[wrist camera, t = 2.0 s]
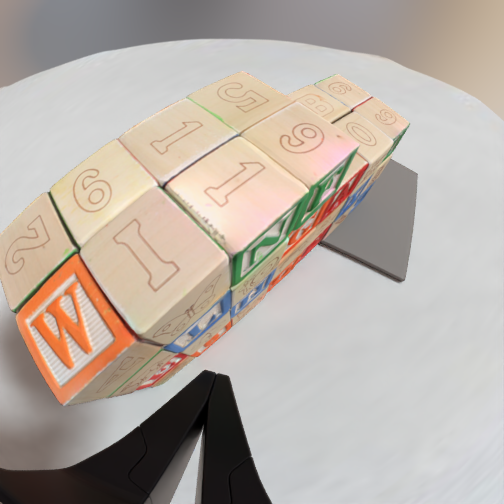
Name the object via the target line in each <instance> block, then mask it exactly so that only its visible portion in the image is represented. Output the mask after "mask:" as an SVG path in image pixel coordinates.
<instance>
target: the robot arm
mask: <svg viewBox="0 0 504 504" xmlns="http://www.w3.org/2000/svg"><path fill="white" fill-rule="evenodd" d="M203 426H204V427H203ZM202 430H203V433H202V440H201V449H200V458H199V467H198V477H197V487H196V497H195V504H272V502H271V500H270V499H269V497H268V495H267V493H266V491H265V489H264V487H263V484H262V482H261V480H260V478H259V475H258V472H257V470H256V467H255V464H254V461H253V458H252V457H251V456H252V455H251V451H250V448H249V445H248V441H247V438H246V435H245V431H244V428H243V424H242V421H241V417H240V414H239V410H238V407H237V403H236V400H235V396H234V392H233V389H232V385H231V381H230V378H229V376H227V375H223V374H219V373H218V374H217V375H216V373H215V372H212V371H208V370H204V371H202V372H201V373H200V374H199V375H198V376H197V377H196V378H195V379H193V380H192V381H191V382H190V383H189V384H188V385H187V386H185V387H184V388H183V389H182V390H181V391H180V392H178V393H177V394H176V395H175V396H174V397H173V398H171V399H170V400H169V401H168V402H167V403H166V404H164V405H163V406H162V407H161V408H160V409H158V410H157V411H156V412H155V413H154V414H152V415H151V416H150V417H149V418H148V419H146V420H145V421H144V422H143V423H141V424H140V427H139V426H138V427H136V428H135V429H134V430H133V431H131V432H130V433H129V434H127V435H126V436H125V437H123V438H122V439H120V440H119V441H117V442H116V443H114V444H113V445H111V446H109V447H108V448H106V449H104V450H102V451H100V452H99V453H97V454H95V455H93V456H91V457H89V458H87V459H85V460H83V461H81V462H79V463H77V464H75V465H73V466H70V467H67V468H63V469H56V470H6V469H2V468H0V504H170V502H171V500H172V498H173V495H174V493H175V491H176V489H177V487H178V484H179V482H180V480H181V478H182V476H183V473H184V471H185V469H186V467H187V464H188V462H189V460H190V458H191V455H192V453H193V451H194V449H195V446H196V444H197V442H198V440H199V437H200V435H201V432H202Z"/></svg>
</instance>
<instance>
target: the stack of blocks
mask: <svg viewBox="0 0 504 504" xmlns="http://www.w3.org/2000/svg"><path fill="white" fill-rule="evenodd" d="M409 125H410V123H409V122H408V121H407V120H405V119H404V118H403V117H402V116H400V115H399V114H398V113H396V112H395V111H394V110H392V109H391V108H390V107H388V106H387V105H386V104H384V103H383V102H381V101H380V100H379V99H377V98H376V97H372V96H371V95H370V94H369V93H367V92H366V91H364V90H363V89H361V88H360V87H358V86H356V85H355V84H353V83H352V82H350V81H348V80H347V79H345V78H343V77H342V76H340V75H338V74H335V75H333V76H331V77H328V78H326V79H324V80H321V81H319V82H317V83H315V84H314V85H308V86H306V87H304V88H301V89H299V90H297V91H295V92H293V93H291V94H288V95H284V94H282V93H280V92H278V91H276V90H275V89H273V88H272V87H270V86H268V85H267V84H265V83H263V82H262V81H260V80H258V79H256V78H255V77H253V76H251V75H249V74H248V73H245V72H243V71H241V72H238V73H236V74H233V75H231V76H228V77H226V78H224V79H221V80H219V81H217V82H215V83H213V84H210V85H208V86H206V87H204V88H202V89H200V90H198V91H196V92H194V93H192V94H190V95H188V96H187V97H186V98H185V99H182V100H180V101H178V102H176V103H173V104H171V105H169V106H168V107H166V108H164V109H162V110H161V111H159V112H157V113H156V114H154V115H152V116H151V117H149V118H147V119H146V120H144V121H142V122H140V123H139V124H137V125H135V126H134V127H132V128H131V129H129V130H128V131H127V132H125V133H124V134H123V135H122V136H121V137H119V138H118V139H114V140H112V141H111V142H109V143H108V144H106V145H105V146H103V147H102V148H101V149H99V150H98V151H97V152H95V153H94V154H93V155H91V156H90V157H89V158H87V159H86V160H84V161H83V162H82V163H80V164H79V165H78V166H76V167H75V168H74V169H73V170H71V171H70V172H69V173H68V174H66V175H65V176H64V177H63V178H62V179H60V180H59V181H58V182H57V183H56V184H54V185H53V186H52V187H51V189H50V192H46V193H43V194H41V195H40V196H39V197H38V198H37V199H35V200H34V201H33V202H32V203H31V204H30V205H29V206H28V207H27V208H26V209H25V210H24V211H23V212H22V213H21V214H20V215H19V216H18V217H17V218H16V219H15V220H14V221H13V222H12V223H11V224H10V225H9V226H8V227H7V228H6V229H5V230H4V231H3V232H2V233H1V234H0V279H1V283H2V286H3V289H4V292H5V296H6V299H7V302H8V305H9V308H10V310H11V311H12V312H14V313H17V314H16V322H17V325H18V328H19V331H20V333H21V335H22V337H23V339H24V341H25V344H26V346H27V348H28V350H29V352H30V354H31V356H32V358H33V360H34V362H35V363H36V365H37V367H38V369H39V371H40V372H41V374H42V376H43V378H44V379H45V381H46V383H47V384H48V386H49V388H50V389H51V391H52V392H53V394H54V396H55V397H56V398H57V400H58V401H59V402H60V403H61V405H63V406H70V405H75V404H80V403H85V402H89V401H93V400H97V399H101V398H111V397H114V396H116V397H117V396H120V395H125V394H129V393H132V392H134V391H135V390H140V389H143V388H147V387H156V386H159V385H161V384H164V383H165V382H166V381H168V380H169V379H170V378H171V377H172V376H174V375H175V374H176V373H177V372H178V371H180V370H181V369H182V368H183V367H184V366H186V365H187V364H188V363H189V362H190V361H192V360H193V359H194V358H195V357H198V356H199V355H201V354H202V353H203V352H204V351H205V350H206V349H208V348H209V347H210V346H211V345H212V344H213V343H214V342H216V341H217V340H218V339H219V338H220V337H221V336H222V335H224V334H225V333H226V332H227V331H228V330H229V329H230V328H231V327H232V326H234V325H235V324H236V323H237V322H238V321H240V320H241V319H242V318H243V317H244V316H245V315H246V314H247V313H248V312H250V311H251V310H252V309H253V308H254V307H255V306H256V305H257V304H258V303H259V302H260V301H262V300H263V299H264V297H265V295H266V293H267V292H269V291H270V290H271V289H272V288H273V287H274V286H275V285H276V284H277V283H278V282H279V281H280V280H282V279H283V278H284V277H285V276H286V275H287V274H288V273H289V272H290V271H291V270H292V269H293V268H294V266H295V265H296V264H297V263H298V262H299V261H300V260H301V259H303V258H304V257H305V256H306V255H307V254H308V253H309V252H310V251H311V250H312V249H313V248H314V247H315V246H316V245H317V244H318V243H319V242H320V241H323V240H324V239H325V238H326V237H327V236H329V235H330V234H331V233H332V232H333V231H334V230H335V229H336V228H337V227H338V226H339V225H340V224H341V223H342V222H343V221H344V220H345V218H346V217H347V216H348V215H349V214H350V213H351V212H352V211H353V210H354V209H355V208H356V207H357V206H358V204H359V203H360V202H361V201H362V200H363V199H364V198H365V196H366V195H367V193H368V191H369V190H370V189H371V187H372V186H373V184H374V183H375V181H376V180H377V178H378V177H379V176H380V174H381V173H382V171H383V170H384V168H385V167H386V165H387V164H388V162H389V160H390V159H391V157H392V155H393V153H392V152H393V151H394V150H395V148H396V146H397V145H398V143H399V142H400V140H401V138H402V137H403V135H404V134H405V132H406V130H407V128H408V127H409Z"/></svg>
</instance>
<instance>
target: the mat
mask: <svg viewBox="0 0 504 504" xmlns="http://www.w3.org/2000/svg"><path fill="white" fill-rule="evenodd" d="M417 177H418V174H417V173H415V172H414V171H412V170H410V169H408V168H407V167H405V166H403V165H401V164H399V163H398V162H396V161H394V160H392V159H390V160H389V162H388V164H387V165H386V167H385V168H384V170H383V171H382V173H381V174H380V176H379V177H378V178H377V180H376V181H375V183H374V184H373V186H372V187H371V189H370V190H369V191H368V193H367V195H366V196H365V198H364V199H363V200H362V201H361V202H360V203H359V204H358V206H357V207H356V208H355V209H354V210H353V211H352V212H351V213H350V214H349V215H348V216H347V217H346V218H345V220H344V221H343V222H342V223H341V224H340V225H339V226H338V227H337V228H336V229H335V230H334V231H333V232H332V233H331V234H330V235H329V236H327V237H326V238H325V239H324V240H323V241H320V242H321V243H323V244H325V245H327V246H329V247H332V248H334V249H336V250H338V251H340V252H342V253H344V254H347V255H349V256H351V257H353V258H355V259H357V260H359V261H361V262H363V263H365V264H368V265H370V266H372V267H374V268H376V269H378V270H380V271H382V272H384V273H386V274H388V275H390V276H392V277H394V278H396V279H398V280H400V281H402V282H403V281H404V280H405V277H406V272H407V266H408V260H409V254H410V248H411V241H412V233H413V225H414V216H415V206H416V193H417Z"/></svg>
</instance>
